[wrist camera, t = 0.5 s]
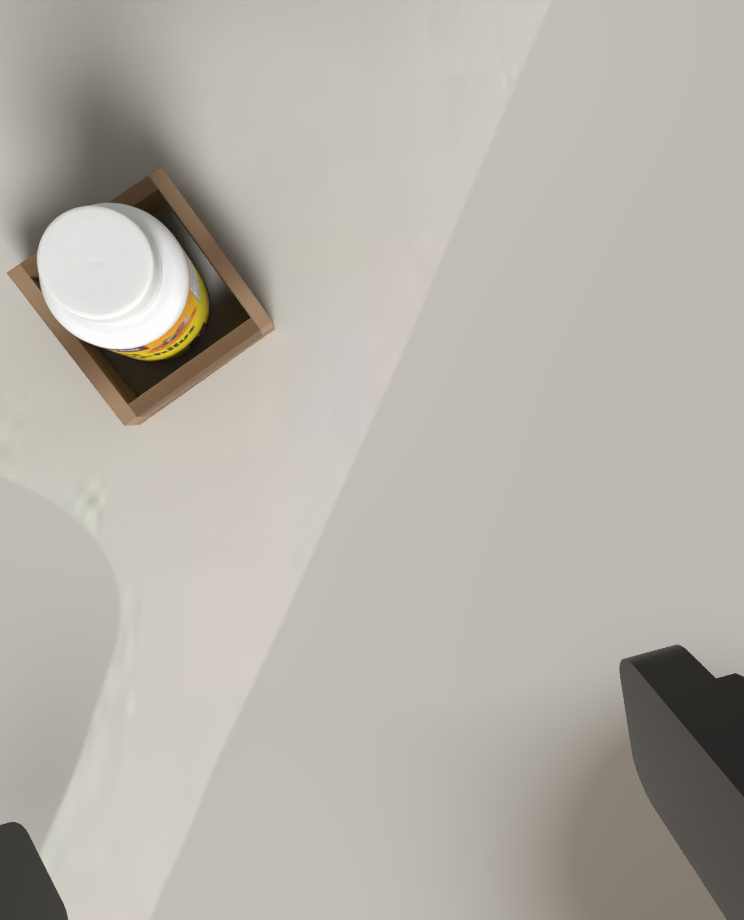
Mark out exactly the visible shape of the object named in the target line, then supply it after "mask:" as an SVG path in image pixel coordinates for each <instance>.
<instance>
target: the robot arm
mask: <svg viewBox="0 0 744 920" xmlns="http://www.w3.org/2000/svg"><path fill="white" fill-rule="evenodd" d="M620 678H621V685H622V691H623V697H624V704H625V710H626V716H627V723H628V730H629V736H630V743H631V749H632V755H633V759H634V763H635V766H636V770H637V772H638V775H639V778H640V780H641V783H642V785H643V787H644V789H645V792H646V794H647V796H648V798H649V800H650V802H651V803H652V805H653V807H654V808H655V810H656V811H657V813H658V814H659V816H660V818H661V819H662V820H663V822H664V823H665V825H666V826H667V828H668V830H669V831H670V833H671V834H672V836H673V837H674V839H675V841H676V842H677V844H678V845H679V847H680V848H681V850H682V851H683V853H684V854H685V856H686V858H687V859H688V860H689V862H690V864H691V865H692V867H693V868H694V870H695V871H696V873H697V874H698V876H699V877H700V879H701V881H702V882H703V884H704V885H705V887H706V888H707V890H708V891H709V893H710V894H711V896H712V897H713V899H714V901H715V902H716V904H717V905H718V907H719V908H720V910H721V911H722V913H723V914H724V916H725V917H726V919H727V920H744V677H743V676H741V675H738V674H736V673H735V674H731V675H727V676H724V677H720V678H715V677H714V676H713V675H712V674H711V673H710V672H709V671H708V670H707V669H706V668H705V667H703V665H702V664H701V663H700V662H698V660H696V659H695V658H694V657H693V656H692V655H691V654H690V653H689V652H688V651H687V650H686V649H685V648H684V647H682V646H680V645H674V646H670V647H666V648H662V649H659V650H655V651H651V652H647V653H644V654H640V655H636V656H633V657H629V658H626V659H622V660H621V662H620ZM0 920H68V917H67V912H66V909H65V906H64V904H63V902H62V900H61V898H60V896H59V894H58V892H57V890H56V888H55V886H54V884H53V882H52V880H51V878H50V876H49V874H48V872H47V870H46V868H45V866H44V864H43V862H42V860H41V858H40V856H39V854H38V852H37V850H36V848H35V846H34V844H33V842H32V840H31V838H30V836H29V834H28V833H27V831H26V829H25V828H24V827H23V826H22V825H20V824H18V823H16V822H10V823H6V824H2V825H0Z"/></svg>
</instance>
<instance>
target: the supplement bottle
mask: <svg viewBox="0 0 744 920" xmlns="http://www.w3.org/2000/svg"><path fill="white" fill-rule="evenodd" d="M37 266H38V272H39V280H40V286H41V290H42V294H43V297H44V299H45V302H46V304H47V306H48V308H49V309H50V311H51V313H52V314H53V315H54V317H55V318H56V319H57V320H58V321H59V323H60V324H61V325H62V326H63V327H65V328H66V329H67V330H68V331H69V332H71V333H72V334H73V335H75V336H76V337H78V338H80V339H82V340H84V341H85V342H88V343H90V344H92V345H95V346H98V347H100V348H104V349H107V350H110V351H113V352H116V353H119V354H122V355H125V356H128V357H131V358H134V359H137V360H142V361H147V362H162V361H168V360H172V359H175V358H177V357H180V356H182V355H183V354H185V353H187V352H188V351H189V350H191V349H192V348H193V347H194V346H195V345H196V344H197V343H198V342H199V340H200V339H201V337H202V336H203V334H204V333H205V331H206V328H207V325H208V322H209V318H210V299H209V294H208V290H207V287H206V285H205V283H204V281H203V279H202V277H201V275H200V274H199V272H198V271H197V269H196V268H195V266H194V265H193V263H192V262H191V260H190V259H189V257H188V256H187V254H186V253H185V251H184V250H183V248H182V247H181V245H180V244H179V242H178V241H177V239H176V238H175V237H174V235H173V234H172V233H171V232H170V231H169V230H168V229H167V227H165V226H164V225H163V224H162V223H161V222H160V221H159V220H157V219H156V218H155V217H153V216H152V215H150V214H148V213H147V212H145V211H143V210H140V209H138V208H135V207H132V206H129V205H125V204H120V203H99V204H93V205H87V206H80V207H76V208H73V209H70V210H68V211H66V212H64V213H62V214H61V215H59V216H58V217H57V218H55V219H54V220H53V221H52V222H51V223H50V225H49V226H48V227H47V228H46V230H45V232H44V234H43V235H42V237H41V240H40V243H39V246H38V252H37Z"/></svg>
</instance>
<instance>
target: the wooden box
mask: <svg viewBox="0 0 744 920" xmlns="http://www.w3.org/2000/svg"><path fill="white" fill-rule="evenodd" d="M109 203H120V204H125V205H129V206H132V207H135V208H138V209H140V210H143V211H145V212H147V213H148V214H150V215H152V216H153V217H155V218H156V219H158V218H159V217H161V216H162V215H164V214H165V213H166V212H168V211H169V210H172V211H173V212H174V214H175V215H176V216H177V218H178V219H179V221H180V222H181V223H182V225H183V226H184V228H185V229H186V230H187V232H188V233H189V234H190V236H191V237H192V239H193V240H194V241H195V243H196V244H197V246H198V247H199V248H200V250H201V251H202V252H203V254H204V255H205V257H206V258H207V259H208V261H209V262H210V264H211V265H212V266H213V268H214V269H215V271H216V272H217V273H218V275H219V276H220V277H221V279H222V280H223V282H224V283H225V284H226V286H227V287H228V289H229V290H230V291H231V293H232V294H233V295H234V297H235V298H236V300H237V301H238V302H239V304H240V305H241V307H242V308H243V309H244V311H245V312H246V313H247V315H248V316H249V318H250V319H248V320H247V321H245V322H244V323H242V324H241V325H240V326H238V327H237V328H235V329H234V330H233V331H231V332H230V333H228V334H227V335H225V336H224V337H223V338H221V339H220V340H218V341H217V342H216V343H214V344H213V345H211V346H210V347H208V348H207V349H206V350H204V351H203V352H201V353H200V354H199V355H197V356H196V357H194V358H193V359H191V360H190V361H189V362H187V363H186V364H184V365H183V366H182V367H180V368H179V369H177V370H176V371H174V372H173V373H172V374H170V375H169V376H167V377H166V378H164V379H163V380H162V381H160V382H159V383H157V384H156V385H155V386H153V387H152V388H150V389H149V390H147V391H146V392H145V393H143V394H142V395H140V396H139V397H138V398H137V397H136V396H135V394H134V393H133V392H132V390H131V389H130V388H129V386H128V385H127V384H126V382H125V381H124V380H123V379H122V377H121V376H120V375H119V373H118V372H117V371H116V369H115V368H114V367H113V365H112V364H111V363H110V361H109V360H108V359H107V358H106V356H105V355H104V354H103V352H102V351H101V350H100V348H99V347H98V346H95V345H92V344H90V343H88V342H85V341H84V340H82V339H80V338H78V337H76V336H75V335H73V334H72V333H71V332H69V331H68V330H67V329H66V328H65V327H63V326H62V325H61V324H60V323H59V321H58V320H57V319H56V318H55V317H54V315H53V314H52V313H51V311H50V309H49V308H48V306H47V304H46V302H45V299H44V297H43V294H42V290H41V286H40V280H39V272H38V266H37V252H36V253H35V254H34V255H32V256H31V257H29V258H28V259H26V260H25V261H23V262H22V263H20V264H19V265H18V266H16V267H15V268H13V269H12V270H10V271H9V272H7V274H8V275H9V277H10V278H11V279H12V280H13V282H14V283H15V284H16V286H17V287H18V288H19V290H20V291H21V292H22V293H23V295H24V296H25V297H26V299H27V300H28V301H29V303H30V304H31V305H32V306H33V308H34V309H35V310H36V312H37V313H38V314H39V315H40V317H41V318H42V319H43V321H44V322H45V323H46V325H47V326H48V327H49V328H50V330H51V331H52V332H53V334H54V335H55V336H56V338H57V339H58V340H59V341H60V343H61V344H62V345H63V347H64V348H65V349H66V351H67V352H68V353H69V354H70V356H71V357H72V358H73V360H74V361H75V362H76V363H77V365H78V366H79V367H80V369H81V370H82V371H83V373H84V374H85V375H86V376H87V378H88V379H89V380H90V382H91V383H92V384H93V386H94V387H95V388H96V389H97V391H98V392H99V393H100V395H101V396H102V397H103V399H104V400H105V401H106V402H107V404H108V405H109V406H110V408H111V409H112V410H113V411H114V413H115V414H116V415H117V417H118V418H119V419H120V421H121V422H122V423H123V424H124V426H127V425H140V424H141V423H143V422H144V421H146V420H147V419H149V418H150V417H151V416H153V415H154V414H156V413H157V412H158V411H160V410H161V409H163V408H164V407H165V406H167V405H168V404H170V403H171V402H173V401H174V400H175V399H177V398H178V397H180V396H181V395H182V394H184V393H185V392H187V391H188V390H190V389H191V388H192V387H194V386H195V385H197V384H198V383H199V382H201V381H202V380H204V379H205V378H206V377H208V376H209V375H211V374H212V373H214V372H215V371H216V370H218V369H219V368H221V367H222V366H223V365H225V364H226V363H228V362H229V361H230V360H232V359H233V358H235V357H236V356H238V355H239V354H240V353H242V352H243V351H245V350H246V349H247V348H249V347H250V346H252V345H253V344H254V343H256V342H257V341H259V340H260V339H262V338H263V337H264V336H266V335H267V334H269V333H270V332H271V331H273V330H274V325H273V321H272V320H271V318H270V317H269V316H268V314H267V313H266V312H265V310H264V309H263V307H262V306H261V305H260V303H259V302H258V300H257V299H256V298H255V296H254V295H253V293H252V292H251V291H250V289H249V288H248V286H247V285H246V284H245V282H244V281H243V279H242V278H241V277H240V275H239V274H238V272H237V271H236V270H235V268H234V267H233V266H232V264H231V263H230V261H229V260H228V259H227V257H226V256H225V254H224V253H223V252H222V250H221V249H220V247H219V246H218V245H217V243H216V242H215V240H214V239H213V238H212V236H211V235H210V233H209V232H208V231H207V229H206V228H205V226H204V225H203V224H202V222H201V221H200V220H199V218H198V217H197V215H196V214H195V213H194V211H193V210H192V208H191V207H190V206H189V204H188V203H187V201H186V200H185V199H184V197H183V196H182V194H181V193H180V192H179V190H178V189H177V187H176V186H175V185H174V183H173V182H172V180H171V179H170V178H169V176H168V175H167V173H166V172H165V171H164V169H163V168H162V167H160V168H159V169H158V170H156V171H155V172H153V173H152V174H150V175H149V176H147V177H146V178H144V179H143V180H141V181H140V182H139V183H137V184H136V185H134V186H133V187H131V188H130V189H128V190H127V191H125V192H124V193H123V194H121V195H120V196H118V197H117V198H115V199H114V200H112V201H111V202H109Z"/></svg>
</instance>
